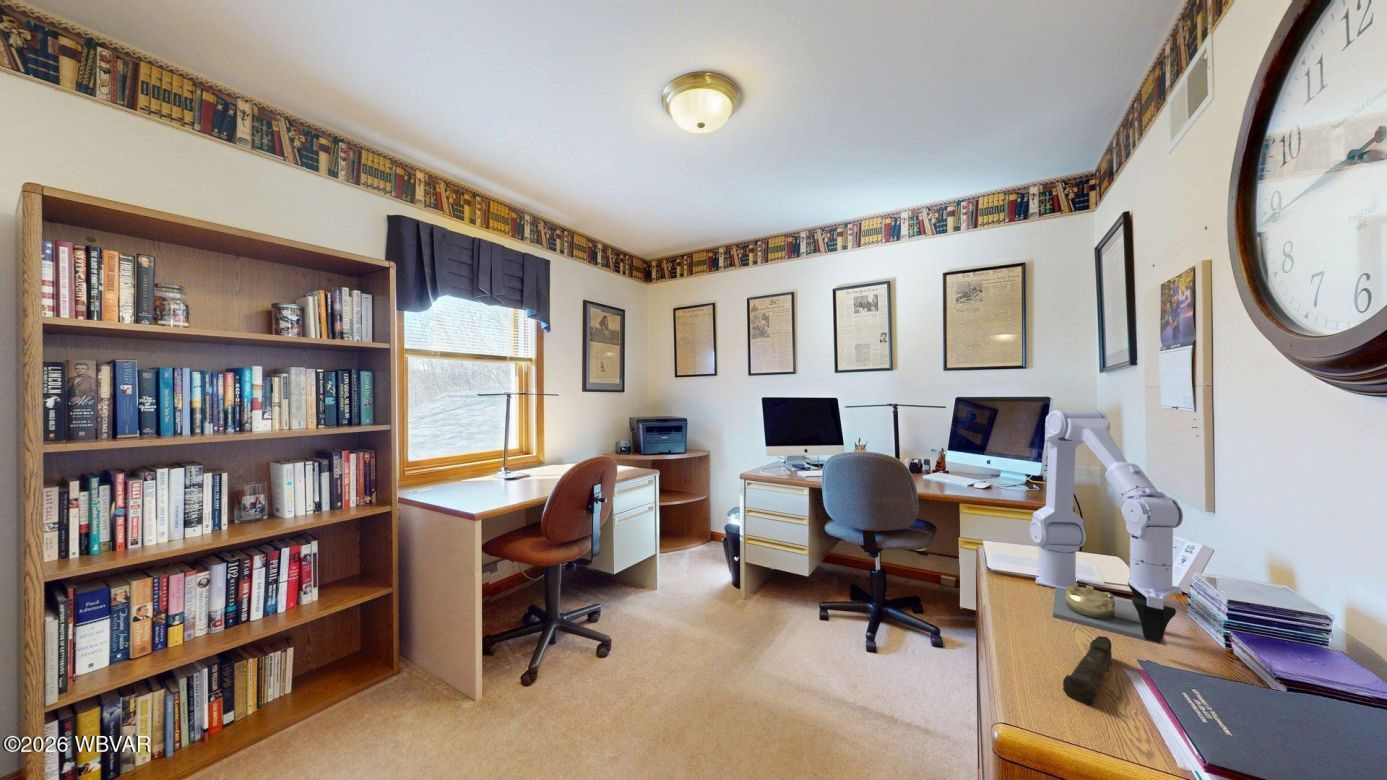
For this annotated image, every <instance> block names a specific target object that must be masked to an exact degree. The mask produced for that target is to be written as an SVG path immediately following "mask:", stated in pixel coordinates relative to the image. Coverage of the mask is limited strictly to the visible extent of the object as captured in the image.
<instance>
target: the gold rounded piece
mask: <svg viewBox="0 0 1387 780" xmlns="http://www.w3.org/2000/svg"><path fill="white" fill-rule="evenodd" d="M1066 605H1067V607H1069V608H1070V609H1072V610H1074V611H1076V612H1078V613H1080V614H1083V615H1087V616H1090V617H1095V618H1102V619H1109V618H1114V617H1119V618H1124V619H1128V620H1132V621H1136V622H1140V619H1139V615H1138V612H1137V610H1136V608H1135V606H1134V604H1133V602H1132V599H1128V598H1125V597H1124V598H1123V597H1120V596H1115V595H1114V594H1112V593H1110V592H1108V591H1101V590H1096V589H1094V586H1091V585H1085V587H1083V586H1078V587H1077V586H1074V585H1072V584H1071V585H1068V588H1067V589H1066Z"/></svg>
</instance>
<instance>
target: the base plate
mask: <svg viewBox="0 0 1387 780" xmlns="http://www.w3.org/2000/svg"><path fill="white" fill-rule="evenodd" d="M1054 592H1055V593H1054V600H1053V601H1054V603H1053V609H1052V610H1053V611H1052V617H1053V618H1056V619H1060V620H1064V621H1065V620H1066V621H1068V622H1073V623H1077V624H1081V625H1085V626H1087V627H1093V628H1096V629H1101V630H1104V631H1108V632H1113V633H1116V634H1120V635H1124V636H1128V637H1132V638H1135V639H1138V640H1142V641H1143V640H1144V641H1148V642H1151V643H1155V644H1161V643H1158V642H1154V641H1150V640H1146V639H1145V638H1144V635H1143V631H1142V626H1141V622H1136V621H1132V620H1128V619H1124V618H1119V617H1114V618H1109V619H1102V618H1095V617H1090V616H1087V615H1083V614H1080V613H1078V612H1076V611H1074V610H1072V609H1070V608H1069V607H1067V605H1066V589H1063V588H1059V587H1056V588H1055V591H1054Z"/></svg>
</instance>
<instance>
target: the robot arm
mask: <svg viewBox="0 0 1387 780" xmlns="http://www.w3.org/2000/svg"><path fill="white" fill-rule="evenodd" d="M1044 426H1045V427H1044V428H1045V429H1044V432H1045V433H1044V440H1045V442H1048V449H1047V450H1048V451H1047V470H1046V471H1047V472H1046V473H1047V474H1046V494H1045V495H1046V496H1045V497H1046V500H1045V505H1044V506H1043V507H1041V508H1038V510H1036V511H1034V512H1033V513H1032V518H1031V522H1030V525H1029V536H1030V538H1031V539H1032V541H1033V542H1034V543H1035V544H1036V545H1037V546H1038V570H1039V571H1038V570H1037V572H1038V576H1039V577H1037V576H1036V578H1035V584H1038V585H1041V586H1046V587H1050V588H1054V589H1056V587H1059V588H1063V589H1067V588H1068V585H1071V584H1072V585H1074V586H1077V587H1079V586H1078V585H1079V584H1078V583H1079V582H1078V583H1076V578H1077V576H1076V575H1077V574H1076V572H1077V571H1076V569H1077V568H1076V567H1077V565H1076V563H1077V562H1076V559H1077V557H1076V556H1077V554H1076V553H1077V551H1080V548H1081V547H1083V546H1084V544H1085V543H1086V541H1087V535H1086V531H1085V528H1084V519H1083V518H1082V517H1081V516H1080V515H1079V514H1077V513H1076V512H1075V511H1074V494H1075V493H1074V491H1075V474H1076V473H1075V472H1076V471H1075V470H1076V469H1075V468H1076V450H1077V447H1079V446H1081V445H1082V444H1085V445H1086V446H1087V447H1088V448H1089V449H1090V450H1091V452H1092V453H1093V455H1095V456H1096V457H1097V459H1098V460H1099V461H1100V462H1101V463H1102V464H1103V466H1104V467H1105V468H1106V472H1105V475H1104V477H1105V479H1106V480H1107V482H1108V484H1109V485H1110V486H1111V488H1112V489H1113V491H1114V493H1115V494H1116V495H1117V496H1118V498H1119V499H1120V500H1121V502H1122V504H1123V505H1122V506H1121V509H1120V510H1121V514H1122V517H1123V518H1124V521H1125V528H1126V530H1127V533H1128V534H1129V577H1128V579H1127V585H1128V587H1129V589H1130V590H1131V593H1132V595H1133V596H1132V597H1131V600H1132V602H1133V604H1134V606H1135V608H1136V610H1137V612H1138V615H1139V619H1140V622H1141V626H1142V631H1143V635H1144V638H1145V639H1146V640H1145V641H1147V640H1150V641H1149V642H1151V641H1154V642H1153V643H1155V642H1158V643H1157V644H1159V643H1160V644H1161V643H1162V641H1163V639H1164V636H1165V632H1166V629H1167V627H1168V624H1169V622H1170V621H1171V620H1172V619H1173V618H1174V617H1175V615H1176V614H1177V609H1176V608H1175V607H1173V606H1172V607H1171V606H1168V605H1164V600H1166V599H1167V598H1169V597H1170V596H1172V595H1174V594H1175V595H1176V594H1177V595H1182V594H1183V591H1182V588H1180V586H1174V585H1173V570H1174V569H1173V568H1174V567H1173V561H1174V560H1173V558H1174V557H1173V556H1174V553H1173V552H1174V548H1173V547H1174V546H1173V545H1174V529H1176V528H1179V527H1180V525H1182V522H1183V521H1184V520H1183V519H1184V514H1183V509H1182V508H1181V506H1180V504H1179V502H1178V501H1177V500H1176V499H1175V498H1173V497H1172V496H1169V495H1166V494H1165V493H1164V492H1162V491H1159V490H1158V489H1157V488H1156V486H1155V485H1154V484H1153V483H1152V482H1151V480H1150V479H1149V477H1147V475H1146V474H1145V472H1144V471H1143V470H1142V469H1141V467H1140V466H1139V465H1138V464H1136V463H1131V462H1128V461H1127V459H1126V458H1125V456H1124V454H1123V453H1122V452H1121V449H1120V448H1119V446H1118V445H1117V443H1116V442H1115V440H1114V439H1113V437H1112V436H1111V433H1110V431H1111V421H1110V420H1109V419H1108V417H1107V415H1106V414H1105V413H1104V412H1103V411H1102V410H1099V409H1094V410H1093V409H1092V410H1060V409H1055V410H1052V411H1051V412H1049V413H1048V414H1047V415H1046V417H1045V423H1044Z"/></svg>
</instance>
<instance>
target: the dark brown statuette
mask: <svg viewBox="0 0 1387 780" xmlns="http://www.w3.org/2000/svg"><path fill="white" fill-rule="evenodd" d="M1111 661H1112V642H1111V640H1110V638H1108V636H1102V635H1101V636H1100V635H1098V636H1097V637H1096V638H1095V639H1092V640H1091V641H1090V644H1089V649H1088V650H1087V652H1086V653H1085V655H1084V656H1083V657H1082V658H1081V660H1080V662H1079V663H1078V664H1077V666H1075V668H1074V669H1073V671H1072V673H1071V674H1070V675H1068V674H1067V675H1066V676H1065V677H1064V678H1063V681H1062V685H1063V688H1062V690H1063V692H1064V693H1065V695H1066V696H1067V698H1069V699H1072V700H1075V701H1076V702H1078V703H1082V704H1083V705H1084V704H1085V705H1087V706H1091V705H1092V706H1093V704H1095V698H1097V695H1098V694H1097V691H1098V690H1099V689H1100V687H1101V684H1102V682H1103V680H1104V679H1105V676H1106V674H1107V673H1109V672H1110V669H1111V665H1112V662H1111Z"/></svg>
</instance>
